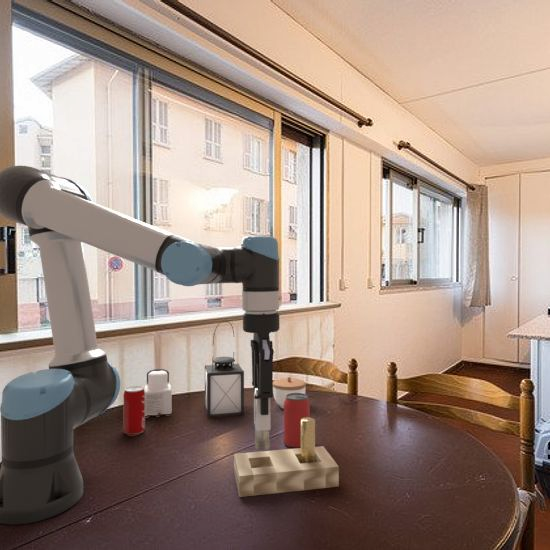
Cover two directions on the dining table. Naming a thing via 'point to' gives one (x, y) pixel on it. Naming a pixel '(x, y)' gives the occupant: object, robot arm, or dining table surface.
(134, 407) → the soda can
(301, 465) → the pin block
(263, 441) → the steel pin
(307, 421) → the brass pin
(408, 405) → the dining table surface
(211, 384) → the lantern
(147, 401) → the container
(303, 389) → the lidded jar
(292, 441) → the beer can
